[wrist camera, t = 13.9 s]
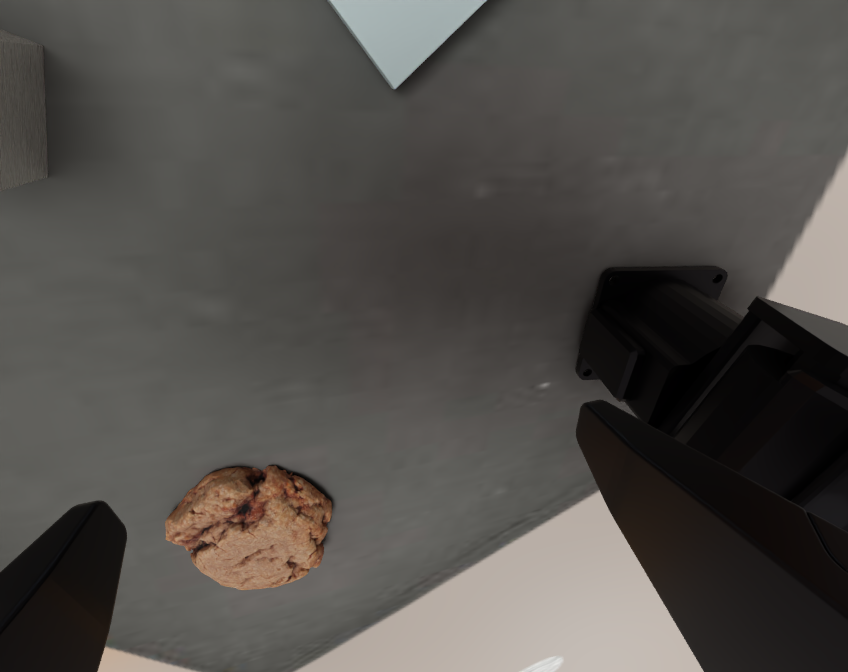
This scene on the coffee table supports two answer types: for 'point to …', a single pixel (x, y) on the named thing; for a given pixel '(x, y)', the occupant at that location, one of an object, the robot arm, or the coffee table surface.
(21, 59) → the white rectangular block
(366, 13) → the blue stand
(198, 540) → the cookie
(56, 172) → the coffee table surface
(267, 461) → the coffee table surface
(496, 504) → the coffee table surface
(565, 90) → the coffee table surface
